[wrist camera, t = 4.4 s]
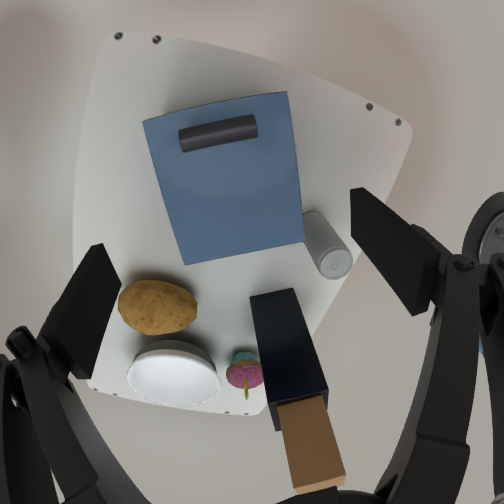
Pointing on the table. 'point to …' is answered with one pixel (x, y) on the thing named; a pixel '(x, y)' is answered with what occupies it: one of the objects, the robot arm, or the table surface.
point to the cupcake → (245, 372)
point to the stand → (286, 352)
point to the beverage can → (326, 247)
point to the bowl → (174, 374)
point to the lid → (228, 176)
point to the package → (310, 446)
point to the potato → (156, 307)
